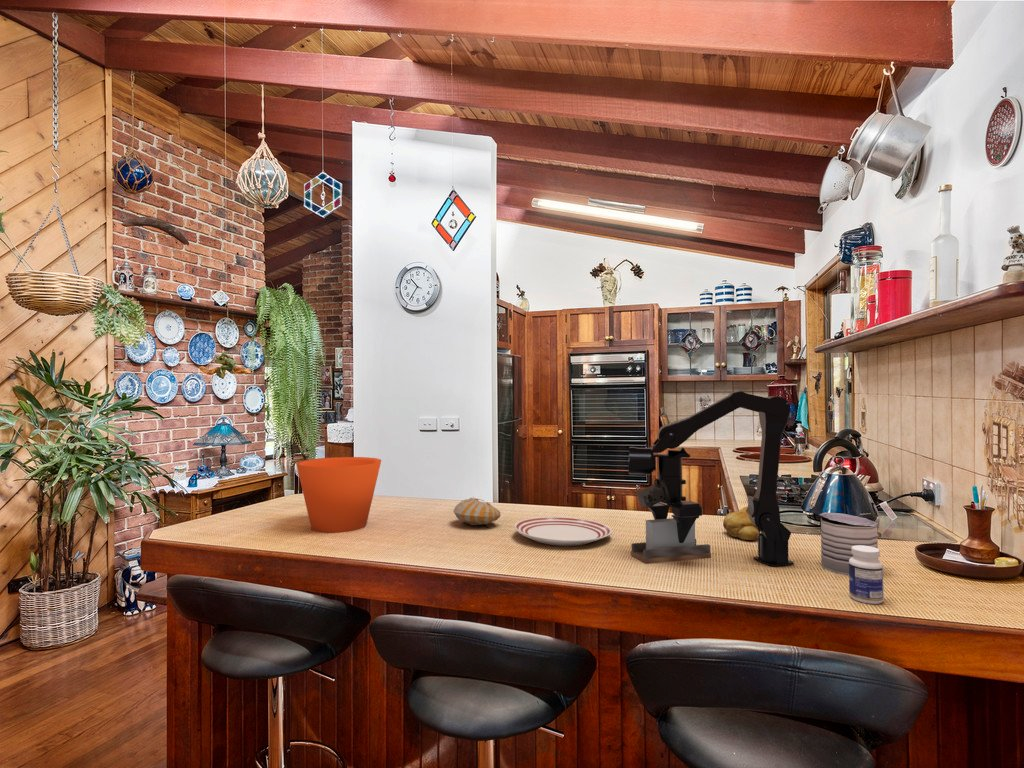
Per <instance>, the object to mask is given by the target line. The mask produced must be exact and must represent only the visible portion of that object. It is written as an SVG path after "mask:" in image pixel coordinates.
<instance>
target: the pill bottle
mask: <svg viewBox="0 0 1024 768" xmlns="http://www.w3.org/2000/svg"><path fill="white" fill-rule="evenodd" d="M880 552H881V551H880V549H879V548H878V549H877V548H875V547H871V546H864V545H856V546H852V547H851V553H852V554H853V557H851V558H850V559H849V575H848V584H849V585H848V587H849V588H848V589H849V590H848V591H849V593H848V594H849V597H850V598H851V599H853V600H855V601H857V602H859V603H860V602H861V603H864V604H869V605H877V604H881V603H884V600H885V593H884V587H885V586H884V585H885V584H884V565H883V563H882V562H881V561H880V560H879V558H880V556H881V555H880V554H881V553H880Z"/></svg>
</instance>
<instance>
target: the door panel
mask: <svg viewBox="0 0 1024 768" xmlns="http://www.w3.org/2000/svg"><path fill="white" fill-rule="evenodd" d="M695 539H696V521H695V522H694V524H693V525H692V527H691V529H690V531H689V533H688V535H687V537H686V539H685V541H684V543H679V540H678V533H677V523H676V520H675V519H674V518H673V517H670V518H667V519H655V520H654V519H646V520H645V542H646V549H658V548H669V547H681V546H692V545H695Z"/></svg>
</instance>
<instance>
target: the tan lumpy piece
mask: <svg viewBox="0 0 1024 768" xmlns="http://www.w3.org/2000/svg"><path fill="white" fill-rule="evenodd" d="M747 508H748V506H744V507H742V508H741V509H740V510H738V511H733V512H728V513H727V514H726V515H725V516H724V519H723V522H722V526H723V528H724V530H725V531H726V532H727V533H728V534H729V536H731V537H734V538H737V539H738V538H739V539H741V540H745V541H754V540H758V539H759V533H761V532H759V530H758V528H757V527H756V526H755V525H754V524H753V523H752V522H751V520H750V519H749V514H748V513H747V512H746V510H747Z"/></svg>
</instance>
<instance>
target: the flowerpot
mask: <svg viewBox="0 0 1024 768" xmlns="http://www.w3.org/2000/svg"><path fill="white" fill-rule="evenodd" d="M381 463H382V459H381V458H376V457H366V456H365V457H364V456H342V457H341V456H336V457H335V456H334V457H321V458H318V457H317V458H310V459H304V460H300V461H297V462H295V464H296V465H295V466H296V469H297V475H298V478H299V481H300V484H301V485H300V487H301V490H302V494H303V498H304V503H305V507H306V511H307V515H308V519H309V523H310V524H309V525H310V528H311V530H312V531H314V532H316V533H324V534H336V533H339V534H340V533H348V532H354V531H359V530H362V529H363V528H365V527H366V526H367V524H368V520H369V515H370V510H371V506H372V503H373V499H374V498H373V497H374V495H375V490H376V489H375V488H376V485H377V481H378V477H379V476H378V475H379V472H380V467H381V465H382V464H381Z"/></svg>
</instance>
